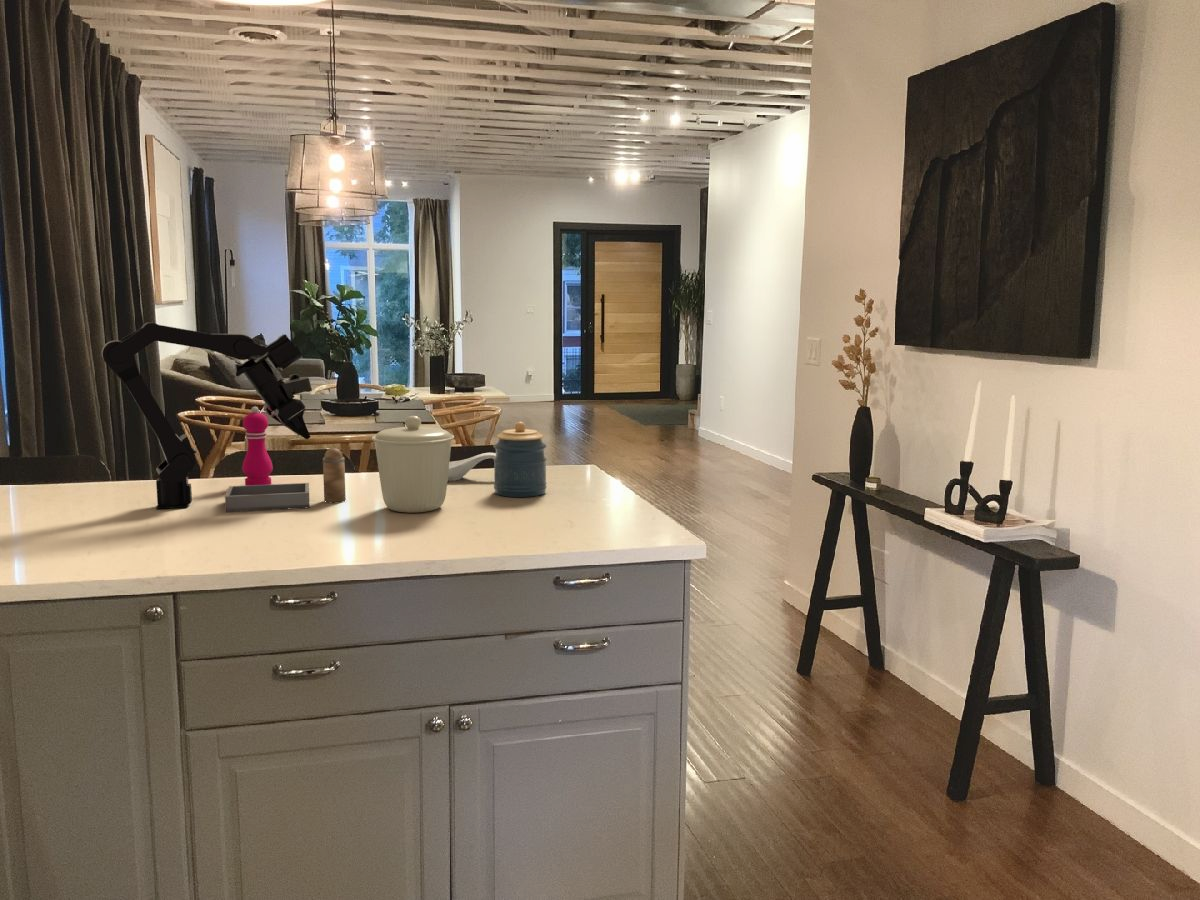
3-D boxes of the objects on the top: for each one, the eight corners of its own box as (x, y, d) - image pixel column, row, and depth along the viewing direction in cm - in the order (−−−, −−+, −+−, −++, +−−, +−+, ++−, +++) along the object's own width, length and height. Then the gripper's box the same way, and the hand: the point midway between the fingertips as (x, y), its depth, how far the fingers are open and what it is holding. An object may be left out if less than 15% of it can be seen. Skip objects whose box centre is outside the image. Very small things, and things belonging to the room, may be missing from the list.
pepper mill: (267, 488, 234) (263, 408, 231) (238, 487, 234) (234, 407, 231) (277, 482, 241) (274, 405, 238) (249, 482, 242) (246, 404, 239)
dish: (225, 512, 206) (225, 496, 206) (230, 501, 218) (229, 486, 218) (309, 508, 211) (309, 492, 211) (309, 497, 223) (308, 482, 223)
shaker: (324, 503, 217) (322, 450, 215) (323, 499, 221) (322, 446, 219) (346, 502, 218) (344, 449, 216) (345, 498, 223) (343, 446, 221)
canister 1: (437, 519, 202) (436, 421, 199) (359, 514, 205) (356, 419, 202) (466, 502, 219) (465, 412, 216) (393, 498, 223) (391, 410, 220)
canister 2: (550, 488, 237) (550, 419, 235) (542, 498, 225) (542, 425, 222) (499, 487, 239) (499, 418, 236) (488, 497, 226) (488, 424, 223)
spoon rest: (421, 483, 244) (420, 456, 243) (429, 475, 256) (429, 449, 255) (512, 484, 244) (512, 457, 243) (516, 476, 256) (516, 450, 255)
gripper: (303, 364, 213) (342, 420, 219) (286, 360, 229) (323, 412, 235) (261, 392, 209) (301, 448, 215) (247, 386, 225) (285, 438, 231)
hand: (304, 436), depth 224 cm, fingers open, 9 cm apart
